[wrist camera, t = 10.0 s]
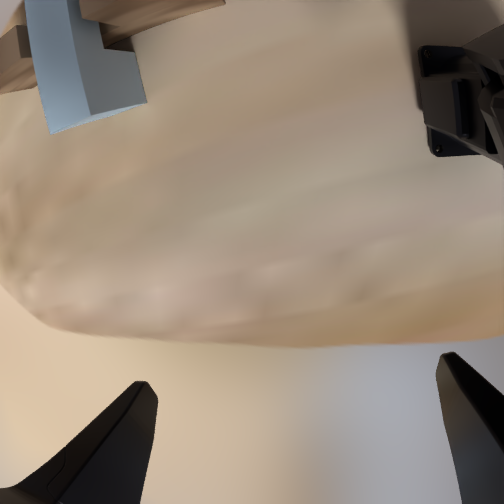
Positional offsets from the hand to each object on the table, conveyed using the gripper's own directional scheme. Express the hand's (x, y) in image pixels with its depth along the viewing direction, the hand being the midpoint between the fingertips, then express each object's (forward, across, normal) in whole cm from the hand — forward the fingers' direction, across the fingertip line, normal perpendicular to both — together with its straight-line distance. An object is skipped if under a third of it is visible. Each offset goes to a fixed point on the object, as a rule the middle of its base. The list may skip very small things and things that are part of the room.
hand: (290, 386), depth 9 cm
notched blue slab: (+12, +8, -14) cm, 20 cm away
